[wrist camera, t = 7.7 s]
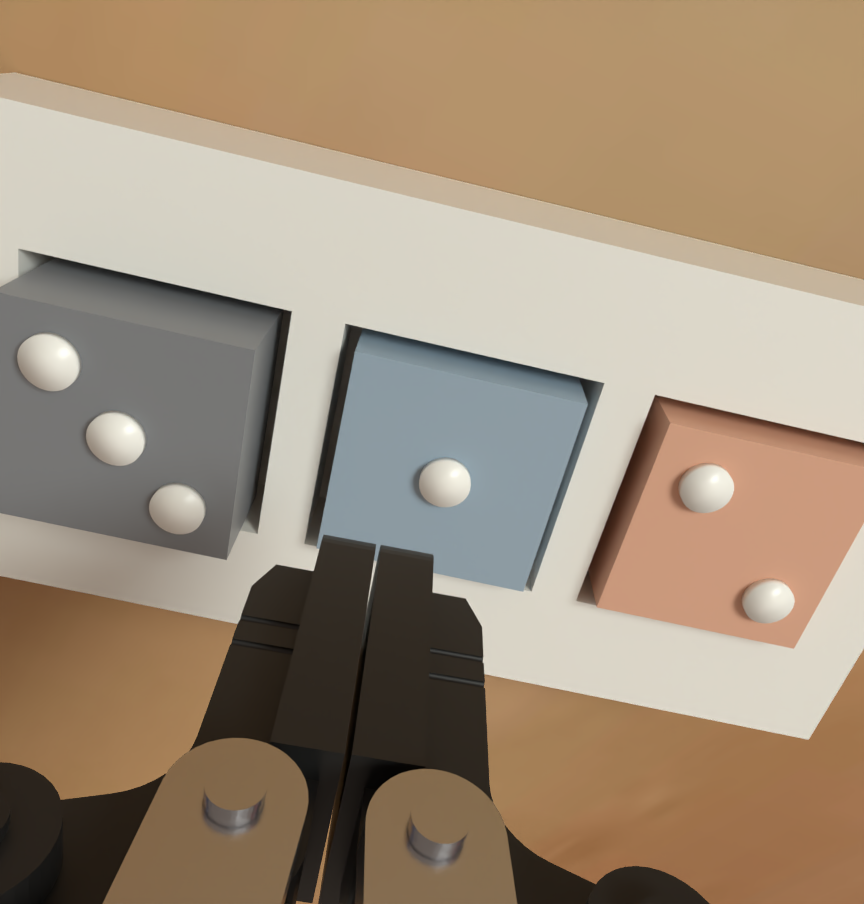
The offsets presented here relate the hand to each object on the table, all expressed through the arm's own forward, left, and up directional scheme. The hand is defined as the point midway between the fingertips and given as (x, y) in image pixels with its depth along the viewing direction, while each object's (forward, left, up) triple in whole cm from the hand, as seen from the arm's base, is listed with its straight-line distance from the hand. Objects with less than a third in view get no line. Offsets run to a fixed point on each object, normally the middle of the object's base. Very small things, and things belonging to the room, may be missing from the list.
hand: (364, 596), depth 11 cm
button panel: (+1, -1, -9) cm, 9 cm away
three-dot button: (-5, -1, -7) cm, 8 cm away
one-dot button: (+1, -1, -8) cm, 8 cm away
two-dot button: (+7, -1, -8) cm, 10 cm away
